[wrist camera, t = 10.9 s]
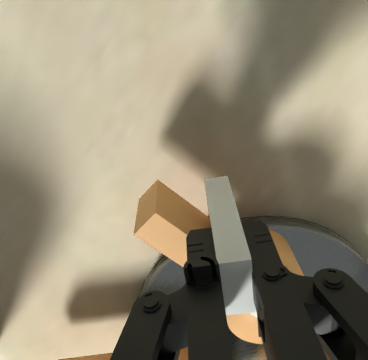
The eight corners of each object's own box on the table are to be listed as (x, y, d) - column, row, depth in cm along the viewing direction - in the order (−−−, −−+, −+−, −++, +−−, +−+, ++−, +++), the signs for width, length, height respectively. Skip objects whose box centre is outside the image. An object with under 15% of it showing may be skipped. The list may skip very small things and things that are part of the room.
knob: (306, 254, 22) (338, 315, 18) (252, 296, 24) (269, 361, 20) (177, 152, 19) (179, 198, 14) (123, 210, 20) (110, 266, 16)
